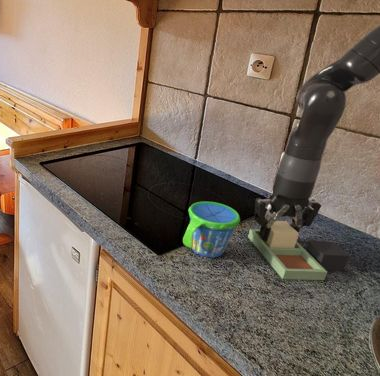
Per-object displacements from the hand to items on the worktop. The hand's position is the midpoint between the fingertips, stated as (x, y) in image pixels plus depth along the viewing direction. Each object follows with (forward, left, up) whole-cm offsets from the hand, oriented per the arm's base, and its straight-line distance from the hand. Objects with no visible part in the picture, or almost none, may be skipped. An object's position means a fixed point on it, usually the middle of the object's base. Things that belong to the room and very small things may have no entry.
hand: (276, 239), depth 96 cm
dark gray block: (-8, +6, -2) cm, 10 cm away
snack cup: (+17, +2, -2) cm, 17 cm away
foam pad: (0, 0, -1) cm, 1 cm away
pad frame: (0, +4, -2) cm, 5 cm away
